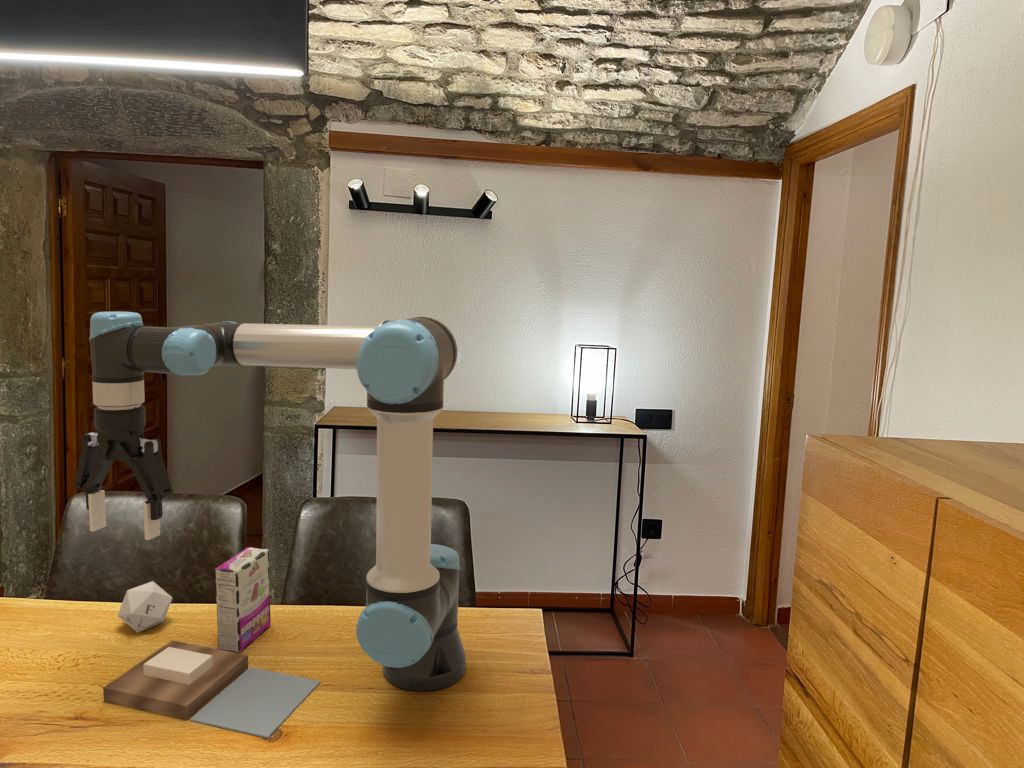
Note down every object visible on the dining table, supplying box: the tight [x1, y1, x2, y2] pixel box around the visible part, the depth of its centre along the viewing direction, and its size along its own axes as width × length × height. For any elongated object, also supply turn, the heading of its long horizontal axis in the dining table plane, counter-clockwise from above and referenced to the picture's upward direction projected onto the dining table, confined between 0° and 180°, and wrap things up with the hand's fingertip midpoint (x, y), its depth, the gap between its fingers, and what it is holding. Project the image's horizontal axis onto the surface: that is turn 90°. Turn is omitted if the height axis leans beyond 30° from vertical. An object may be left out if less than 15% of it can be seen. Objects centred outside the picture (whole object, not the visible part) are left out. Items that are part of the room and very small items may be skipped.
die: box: [117, 580, 173, 634], centre depth 142 cm, size 8×9×10 cm
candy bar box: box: [214, 546, 272, 654], centre depth 138 cm, size 11×5×16 cm, turn 168°
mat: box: [189, 666, 321, 739], centre depth 119 cm, size 14×16×1 cm
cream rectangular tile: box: [143, 647, 213, 685], centre depth 122 cm, size 9×6×2 cm, turn 76°
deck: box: [102, 640, 249, 721], centre depth 123 cm, size 16×16×2 cm
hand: (125, 532), depth 122 cm, fingers open, 10 cm apart
